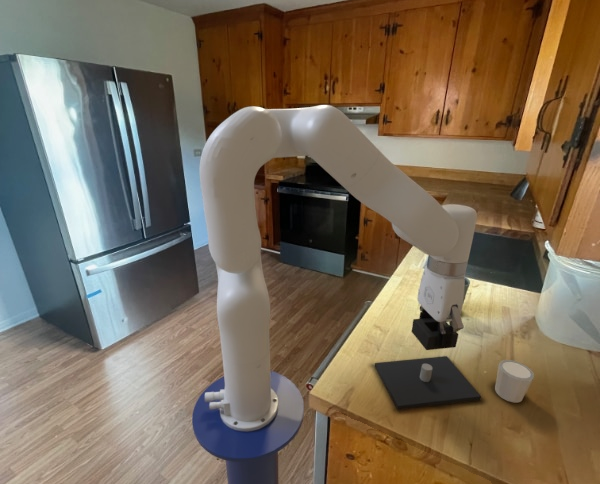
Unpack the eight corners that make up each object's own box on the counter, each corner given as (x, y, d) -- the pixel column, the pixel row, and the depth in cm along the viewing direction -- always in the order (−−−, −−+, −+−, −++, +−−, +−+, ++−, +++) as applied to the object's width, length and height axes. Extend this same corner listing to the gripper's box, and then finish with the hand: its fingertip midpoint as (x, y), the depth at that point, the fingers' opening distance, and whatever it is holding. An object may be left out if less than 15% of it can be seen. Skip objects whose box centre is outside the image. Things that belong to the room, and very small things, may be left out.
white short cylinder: (500, 378, 81) (507, 355, 79) (531, 396, 76) (540, 372, 73) (486, 390, 78) (493, 366, 75) (517, 409, 72) (525, 384, 70)
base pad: (397, 410, 72) (400, 393, 70) (374, 366, 85) (376, 351, 83) (480, 400, 75) (484, 384, 73) (446, 359, 88) (449, 345, 86)
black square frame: (426, 350, 72) (428, 337, 70) (411, 331, 78) (413, 319, 77) (455, 347, 73) (458, 334, 71) (438, 329, 79) (441, 316, 78)
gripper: (410, 250, 76) (401, 316, 82) (454, 284, 60) (438, 363, 67) (440, 249, 77) (429, 314, 84) (491, 282, 61) (472, 359, 68)
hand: (433, 335), depth 75 cm, fingers closed on black square frame, 7 cm apart
